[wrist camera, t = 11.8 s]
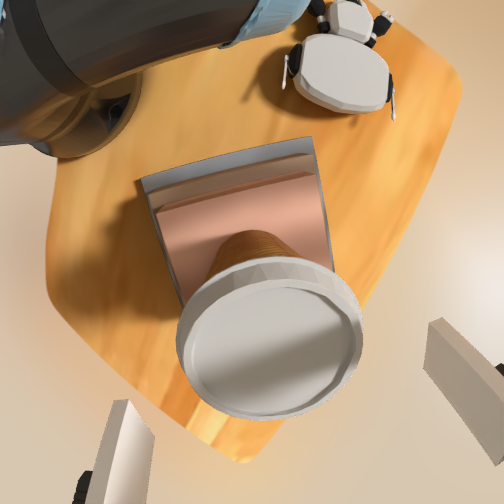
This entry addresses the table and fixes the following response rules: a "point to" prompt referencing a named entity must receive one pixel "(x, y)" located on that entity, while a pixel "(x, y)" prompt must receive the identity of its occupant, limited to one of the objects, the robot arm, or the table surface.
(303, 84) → the robot toy
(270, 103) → the table surface
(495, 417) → the robot arm
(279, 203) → the pink brown stepped block
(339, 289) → the disposable coffee cup
